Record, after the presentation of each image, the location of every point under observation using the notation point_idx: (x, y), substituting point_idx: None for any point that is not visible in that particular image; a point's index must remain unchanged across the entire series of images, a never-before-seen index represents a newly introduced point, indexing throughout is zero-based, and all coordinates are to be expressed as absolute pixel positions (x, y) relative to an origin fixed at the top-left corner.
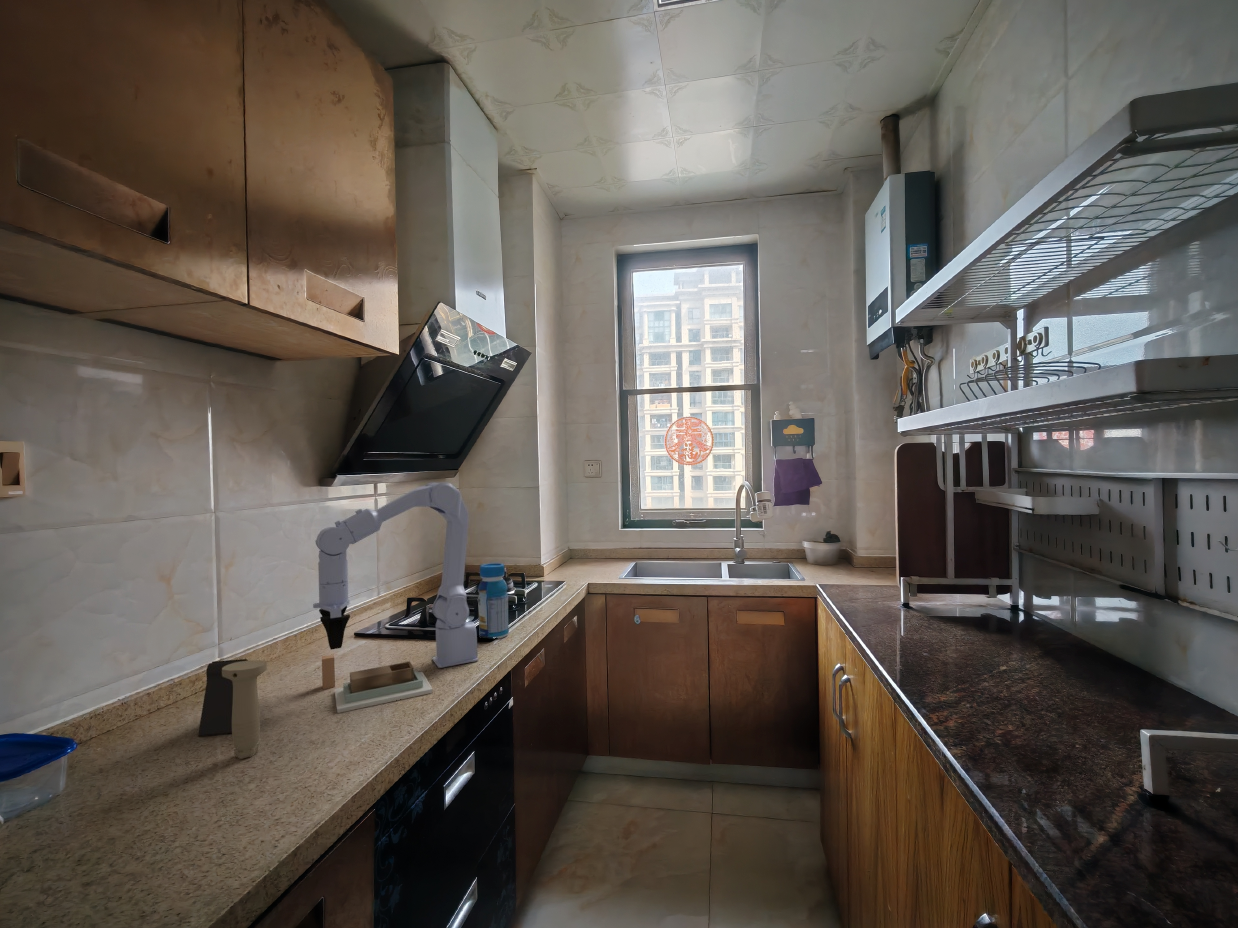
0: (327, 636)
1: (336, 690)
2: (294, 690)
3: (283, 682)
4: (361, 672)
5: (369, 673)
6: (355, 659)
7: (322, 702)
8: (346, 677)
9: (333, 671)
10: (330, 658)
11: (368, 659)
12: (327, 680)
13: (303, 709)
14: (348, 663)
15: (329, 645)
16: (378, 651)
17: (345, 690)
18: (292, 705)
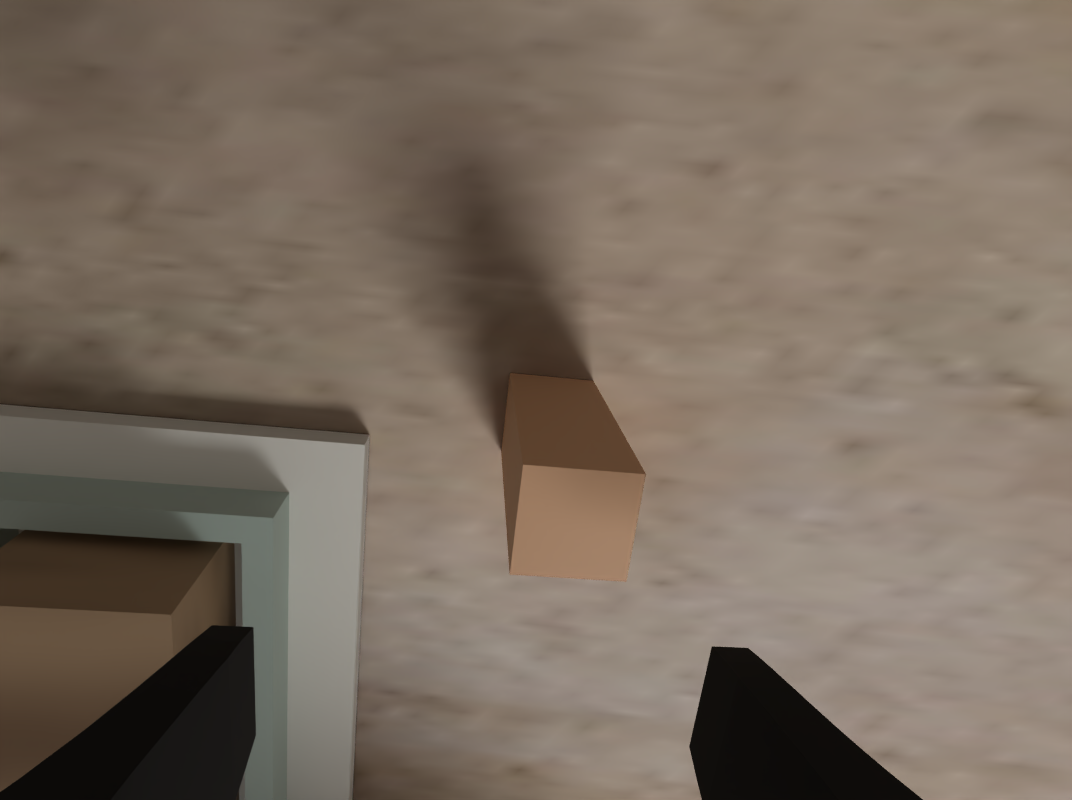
0: (43, 760)
1: (321, 451)
2: (636, 186)
3: (909, 129)
4: (110, 688)
5: (37, 734)
6: (998, 634)
7: (209, 336)
8: (651, 539)
9: (505, 495)
10: (514, 538)
11: (922, 699)
12: (508, 425)
13: (131, 197)
14: (951, 587)
15: (176, 654)
16: (1035, 767)
17: (80, 509)
18: (278, 132)
